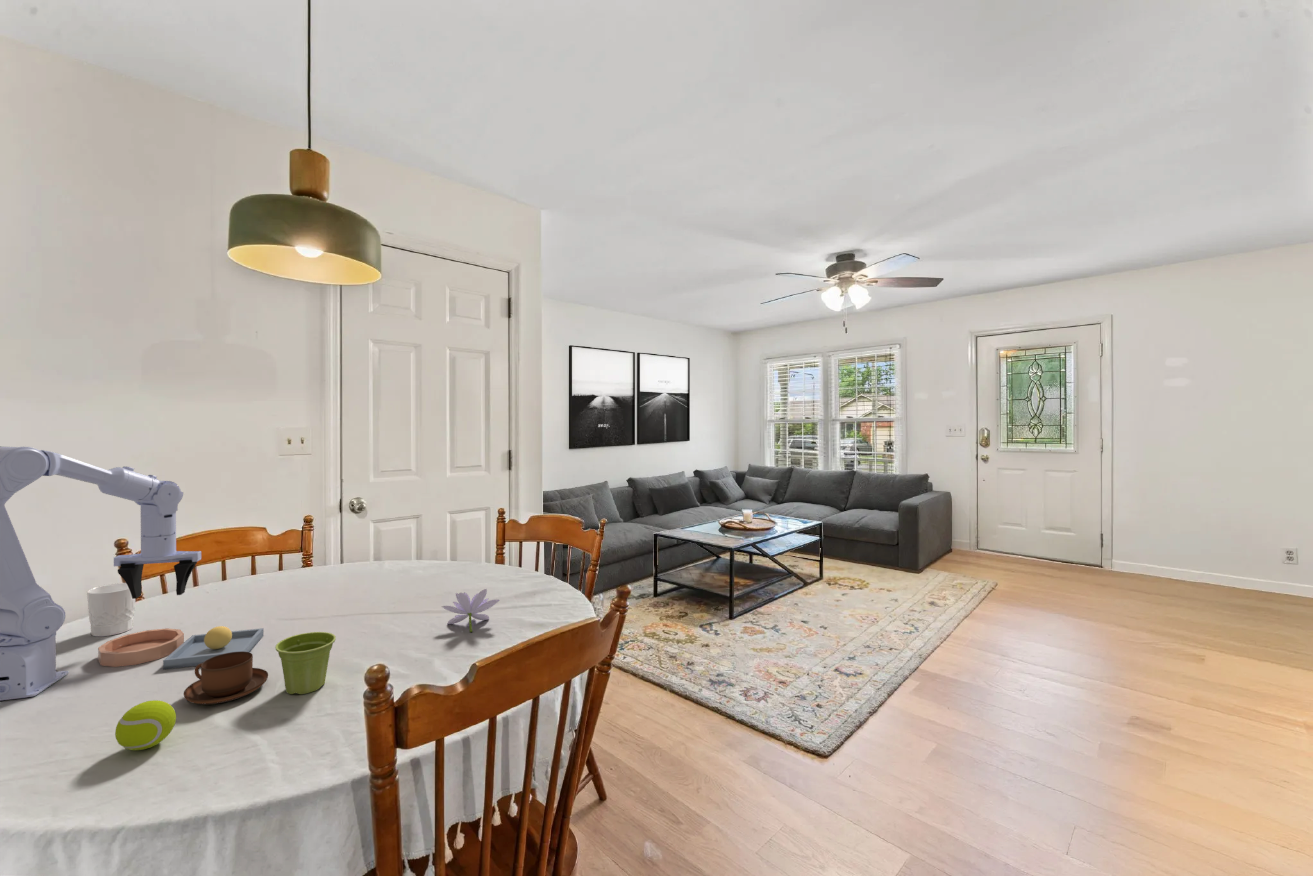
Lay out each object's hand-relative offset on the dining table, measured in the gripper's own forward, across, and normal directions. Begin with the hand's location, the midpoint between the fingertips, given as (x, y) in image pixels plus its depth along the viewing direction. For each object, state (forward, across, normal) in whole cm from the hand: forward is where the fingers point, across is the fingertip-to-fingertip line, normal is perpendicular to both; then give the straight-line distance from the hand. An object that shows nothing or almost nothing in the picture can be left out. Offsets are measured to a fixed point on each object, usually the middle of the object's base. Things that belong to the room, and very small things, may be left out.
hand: (159, 595), depth 119 cm
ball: (+7, -14, +11) cm, 19 cm away
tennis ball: (+10, -17, +47) cm, 51 cm away
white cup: (+10, +12, -9) cm, 18 cm away
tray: (+10, -14, +11) cm, 20 cm away
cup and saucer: (+10, -22, +32) cm, 40 cm away
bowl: (+10, 0, +7) cm, 12 cm away
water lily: (+10, -65, +12) cm, 67 cm away
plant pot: (+10, -35, +34) cm, 50 cm away
